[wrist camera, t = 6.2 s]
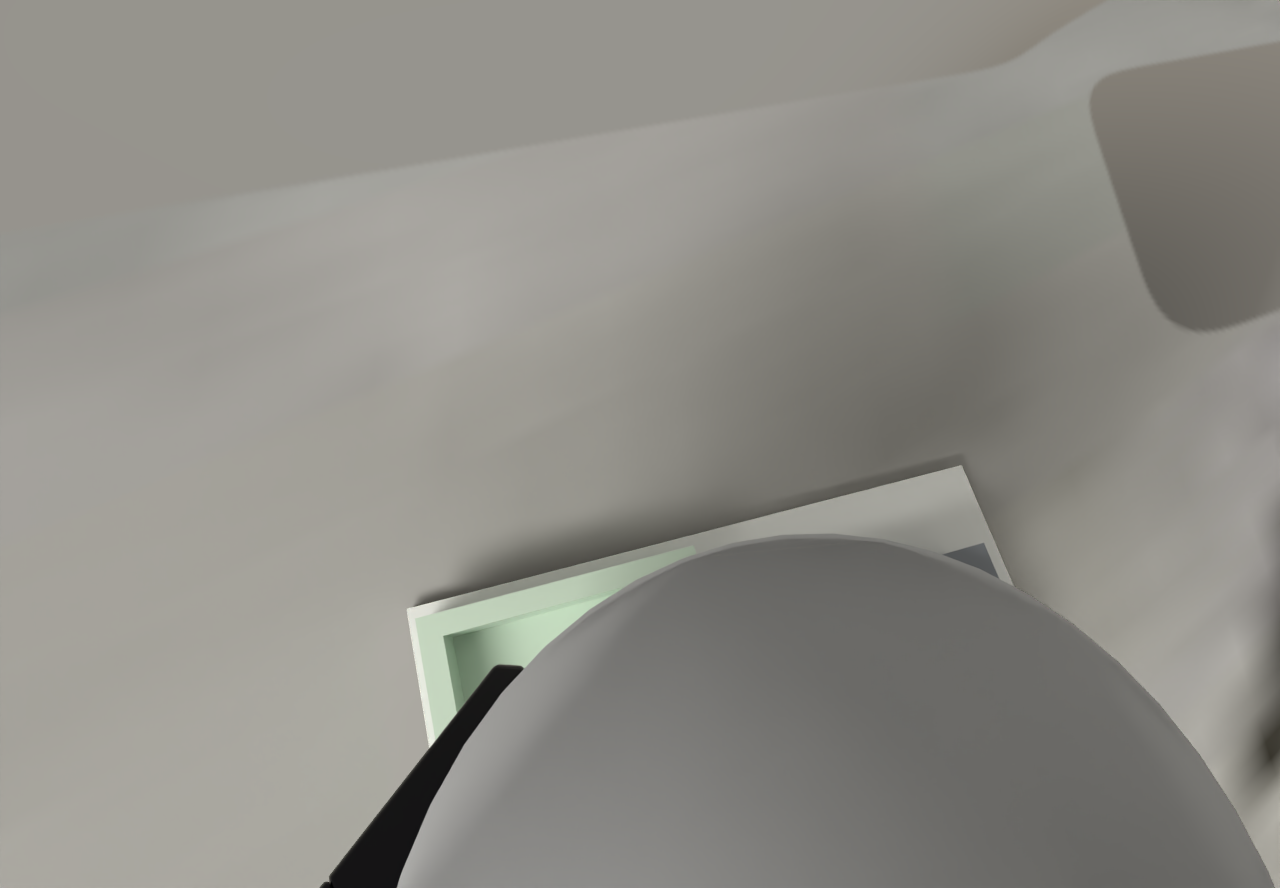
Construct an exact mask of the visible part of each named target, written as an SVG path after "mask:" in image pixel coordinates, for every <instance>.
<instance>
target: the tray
mask: <svg viewBox="0 0 1280 888" xmlns="http://www.w3.org/2000/svg"><path fill="white" fill-rule="evenodd" d="M695 554H696V551H695V548H694V545H693V546H689V547H685V548H682V549H678V550H674V551H670V552H666V553H663V554H659V555H655V556H651V557H647V558H644V559H640V560H636V561H632V562H628V563H624V564H621V565H617V566H613V567H609V568H605V569H602V570H598V571H594V572H590V573H586V574H583V575H579V576H575V577H571V578H567V579H564V580H560V581H556V582H552V583H548V584H545V585H541V586H537V587H533V588H529V589H526V590H522V591H518V592H514V593H510V594H506V595H503V596H499V597H495V598H491V599H487V600H484V601H480V602H476V603H472V604H468V605H465V606H461V607H457V608H453V609H449V610H446V611H442V612H438V613H434V614H430V615H427V616H423V617H419V618H415V622H416V628H417V633H418V639H419V645H420V651H421V657H422V663H423V669H424V675H425V681H426V687H427V693H428V699H429V705H430V711H431V717H432V723H433V729H434V735H435V740H436V739H437V738H438V737H439V735H440V734H441V733H442V731H443V730H444V729H445V728H446V726H447V725H448V724H449V723H450V721H451V720H452V719H453V717H454V716H455V715H456V714H457V712H458V711H459V710H460V709H461V707H462V706H463V705H464V703H465V702H466V701H467V700H468V698H469V697H470V696H471V695H472V693H473V692H474V691H475V689H476V688H477V687H478V686H479V684H480V683H481V682H482V680H483V679H484V678H485V677H486V675H487V674H488V673H489V672H490V670H491V669H492V668H493V667H494V666H496V665H498V664H503V665H520V666H522V667H523V668H525V667H526V666H527V665H528V664H529V663H530V662H531V661H532V660H533V659H534V658H535V657H536V655H537V654H538V653H539V652H540V651H541V650H542V649H543V648H544V647H545V646H546V645H547V644H549V643H550V642H551V641H552V640H553V639H555V638H556V637H557V636H558V635H559V634H561V633H562V632H563V631H564V630H565V629H567V628H568V627H569V626H570V625H571V624H573V623H574V622H575V621H576V620H577V619H579V618H580V617H581V616H582V615H583V614H585V613H586V612H587V611H588V610H589V609H591V608H592V607H594V606H596V605H597V604H599V603H600V602H602V601H603V600H605V599H607V598H608V597H610V596H611V595H613V594H615V593H616V592H618V591H619V590H621V589H622V588H624V587H626V586H627V585H629V584H630V583H632V582H633V581H635V580H637V579H639V578H641V577H643V576H646V575H648V574H650V573H652V572H654V571H656V570H659V569H661V568H663V567H665V566H667V565H669V564H672V563H674V562H676V561H678V560H680V559H682V558H685V557H688V556H691V555H695Z"/></svg>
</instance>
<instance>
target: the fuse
mask: <svg viewBox="0 0 1280 888" xmlns="http://www.w3.org/2000/svg"><path fill="white" fill-rule="evenodd" d="M397 888H1275V887H1274V884H1273V882H1272V880H1271V877H1270V875H1269V872H1268V870H1267V868H1266V866H1265V865H1264V863H1263V861H1262V859H1261V857H1260V855H1259V853H1258V851H1257V849H1256V848H1255V846H1254V844H1253V842H1252V840H1251V838H1250V836H1249V834H1248V832H1247V830H1246V829H1245V827H1244V825H1243V823H1242V821H1241V819H1240V817H1239V815H1238V813H1237V812H1236V810H1235V808H1234V807H1233V805H1232V804H1231V802H1230V801H1229V799H1228V797H1227V796H1226V794H1225V793H1224V791H1223V790H1222V788H1221V787H1220V785H1219V784H1218V782H1217V781H1216V779H1215V778H1214V776H1213V774H1212V773H1211V771H1210V770H1209V768H1208V767H1207V765H1206V764H1205V762H1204V761H1203V759H1202V758H1201V756H1200V755H1199V753H1198V752H1197V751H1196V749H1195V748H1194V747H1193V746H1192V744H1191V743H1190V742H1189V741H1188V739H1187V738H1186V737H1185V736H1184V734H1183V733H1182V732H1181V731H1180V729H1179V728H1178V727H1177V726H1176V724H1175V723H1174V722H1173V721H1172V719H1171V718H1170V717H1169V716H1168V714H1167V713H1166V712H1165V711H1164V709H1163V708H1162V707H1161V706H1160V704H1159V703H1158V702H1157V701H1156V700H1155V699H1154V698H1153V697H1152V696H1151V695H1150V694H1149V693H1148V692H1147V691H1146V690H1145V689H1144V688H1143V687H1142V686H1141V685H1140V684H1139V683H1138V682H1137V681H1136V680H1135V679H1134V678H1133V677H1132V676H1131V675H1130V674H1129V672H1128V671H1127V670H1126V669H1125V668H1124V667H1123V666H1122V665H1121V664H1120V663H1119V662H1118V661H1117V660H1115V659H1114V658H1113V657H1112V656H1111V655H1109V654H1108V653H1107V652H1106V651H1105V650H1103V649H1102V648H1101V647H1100V646H1099V645H1098V644H1096V643H1095V642H1094V641H1093V640H1092V639H1090V638H1089V637H1088V636H1087V635H1086V634H1084V633H1083V632H1082V631H1081V630H1080V629H1078V628H1077V627H1076V626H1075V625H1074V624H1072V623H1071V622H1069V621H1068V620H1066V619H1065V618H1063V617H1062V616H1060V615H1059V614H1057V613H1056V612H1054V611H1053V610H1051V609H1050V608H1048V607H1047V606H1045V605H1044V604H1042V603H1041V602H1039V601H1038V600H1036V599H1035V598H1033V597H1032V596H1030V595H1029V594H1027V593H1025V592H1024V591H1022V590H1020V589H1018V588H1016V587H1014V586H1012V585H1010V584H1008V583H1006V582H1004V581H1002V580H1000V579H998V578H997V577H995V576H993V575H991V574H989V573H987V572H985V571H983V570H981V569H979V568H976V567H973V566H971V565H968V564H965V563H963V562H960V561H958V560H955V559H952V558H950V557H947V556H944V555H942V554H939V553H936V552H934V551H931V550H926V549H922V548H918V547H914V546H910V545H906V544H902V543H897V542H893V541H889V540H885V539H879V538H869V537H860V536H851V535H842V534H793V535H778V536H772V537H766V538H760V539H753V540H747V541H741V542H735V543H731V544H727V545H724V546H721V547H718V548H714V549H711V550H708V551H705V552H701V553H698V554H695V555H691V556H688V557H685V558H682V559H680V560H678V561H676V562H674V563H672V564H669V565H667V566H665V567H663V568H661V569H659V570H656V571H654V572H652V573H650V574H648V575H646V576H643V577H641V578H639V579H637V580H635V581H633V582H632V583H630V584H629V585H627V586H626V587H624V588H622V589H621V590H619V591H618V592H616V593H615V594H613V595H611V596H610V597H608V598H607V599H605V600H603V601H602V602H600V603H599V604H597V605H596V606H594V607H592V608H591V609H589V610H588V611H587V612H586V613H585V614H583V615H582V616H581V617H580V618H579V619H577V620H576V621H575V622H574V623H573V624H571V625H570V626H569V627H568V628H567V629H565V630H564V631H563V632H562V633H561V634H559V635H558V636H557V637H556V638H555V639H553V640H552V641H551V642H550V643H549V644H547V645H546V646H545V647H544V648H543V649H542V650H541V651H540V652H539V653H538V654H537V655H536V657H535V658H534V659H533V660H532V661H531V662H530V663H529V664H528V665H527V666H526V667H525V668H524V669H523V671H522V672H521V673H520V674H519V675H518V676H517V677H516V678H515V679H514V680H513V681H512V682H511V683H510V684H509V686H508V687H507V688H506V689H505V690H504V691H503V692H502V693H501V695H500V696H499V698H498V699H497V700H496V702H495V703H494V704H493V706H492V707H491V709H490V710H489V711H488V713H487V714H486V715H485V717H484V718H483V720H482V721H481V722H480V724H479V725H478V726H477V728H476V729H475V731H474V732H473V733H472V735H471V736H470V737H469V739H468V740H467V742H466V743H465V744H464V746H463V748H462V750H461V751H460V753H459V755H458V757H457V758H456V760H455V762H454V764H453V766H452V767H451V769H450V771H449V773H448V774H447V776H446V778H445V780H444V781H443V783H442V785H441V787H440V789H439V790H438V792H437V794H436V796H435V797H434V799H433V801H432V803H431V805H430V807H429V809H428V811H427V814H426V816H425V819H424V821H423V823H422V826H421V828H420V830H419V833H418V835H417V837H416V840H415V842H414V844H413V847H412V849H411V852H410V854H409V856H408V859H407V861H406V863H405V866H404V868H403V870H402V873H401V876H400V879H399V882H398V886H397Z"/></svg>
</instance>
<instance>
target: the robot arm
mask: <svg viewBox="0 0 1280 888" xmlns="http://www.w3.org/2000/svg"><path fill="white" fill-rule="evenodd" d="M523 669H524V668H523V667H522V666H520V665H503V664H498V665H496V666H494V667H493V668H492V669H491V670H490V672H489V673H488V674H487V675H486V677H485V678H484V679H483V680H482V682H481V683H480V684H479V686H478V687H477V688H476V689H475V691H474V692H473V693H472V695H471V696H470V697H469V698H468V700H467V701H466V702H465V703H464V705H463V706H462V707H461V709H460V710H459V711H458V712H457V714H456V715H455V716H454V717H453V719H452V720H451V721H450V723H449V724H448V725H447V726H446V728H445V729H444V730H443V731H442V733H441V734H440V735H439V737H438V738H437V739H436V740H435V742H434V743H433V744H432V746H431V747H430V748H429V749H428V751H427V752H426V753H425V754H424V756H423V757H422V758H421V760H420V761H419V762H418V763H417V765H416V766H415V767H414V768H413V770H412V771H411V772H410V774H409V775H408V776H407V777H406V779H405V780H404V781H403V783H402V784H401V785H400V786H399V788H398V789H397V790H396V791H395V793H394V794H393V795H392V797H391V798H390V799H389V800H388V802H387V803H386V804H385V805H384V807H383V808H382V809H381V811H380V812H379V813H378V814H377V816H376V817H375V818H374V819H373V821H372V822H371V823H370V825H369V826H368V827H367V828H366V830H365V831H364V832H363V834H362V835H361V836H360V837H359V839H358V840H357V841H356V842H355V844H354V845H353V846H352V848H351V849H350V850H349V851H348V853H347V854H346V855H345V856H344V858H343V859H342V860H341V862H340V863H339V864H338V865H337V867H336V868H335V869H334V871H333V872H332V873H331V874H330V876H329V882H330V883H329V882H324V883H323V884H322V885H321V887H320V888H397V886H398V882H399V879H400V876H401V873H402V870H403V868H404V866H405V863H406V861H407V859H408V856H409V854H410V852H411V849H412V847H413V844H414V842H415V840H416V837H417V835H418V833H419V830H420V828H421V826H422V823H423V821H424V819H425V816H426V814H427V811H428V809H429V807H430V805H431V803H432V801H433V799H434V797H435V796H436V794H437V792H438V790H439V789H440V787H441V785H442V783H443V781H444V780H445V778H446V776H447V774H448V773H449V771H450V769H451V767H452V766H453V764H454V762H455V760H456V758H457V757H458V755H459V753H460V751H461V750H462V748H463V746H464V744H465V743H466V742H467V740H468V739H469V737H470V736H471V735H472V733H473V732H474V731H475V729H476V728H477V726H478V725H479V724H480V722H481V721H482V720H483V718H484V717H485V715H486V714H487V713H488V711H489V710H490V709H491V707H492V706H493V704H494V703H495V702H496V700H497V699H498V698H499V696H500V695H501V693H502V692H503V691H504V690H505V689H506V688H507V687H508V686H509V684H510V683H511V682H512V681H513V680H514V679H515V678H516V677H517V676H518V675H519V674H520V673H521V672H522V671H523Z"/></svg>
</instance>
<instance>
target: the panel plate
mask: <svg viewBox="0 0 1280 888" xmlns="http://www.w3.org/2000/svg"><path fill="white" fill-rule="evenodd" d="M793 534H842V535H851V536H860V537H869V538H879V539H885V540H889V541H893V542H897V543H902V544H906V545H910V546H914V547H918V548H922V549H926V550H931V551H934V552H936V553H939V554H945V553H949V552H952V551H956V550H960V549H963V548H967V547H970V546H974V545H977V544H981V543H984V544H985V546H986V549H987V551H988V554H989V556H990V558H991V561H992V563H993V565H994V568H995V570H996V572H997V575H998V577H999V579H1000V580H1002V581H1004V582H1006V583H1008V584H1010V585H1012V586H1014V585H1013V583H1012V580H1011V578H1010V576H1009V573H1008V571H1007V569H1006V566H1005V564H1004V562H1003V559H1002V557H1001V555H1000V553H999V550H998V548H997V546H996V543H995V541H994V539H993V536H992V534H991V532H990V529H989V527H988V525H987V522H986V520H985V518H984V516H983V513H982V511H981V509H980V506H979V504H978V502H977V499H976V497H975V495H974V492H973V490H972V488H971V485H970V483H969V481H968V479H967V476H966V474H965V472H964V469H963V467H962V465H960V466H956V467H952V468H948V469H944V470H940V471H936V472H933V473H929V474H925V475H921V476H917V477H913V478H909V479H906V480H902V481H898V482H894V483H890V484H886V485H882V486H879V487H875V488H871V489H867V490H863V491H859V492H855V493H852V494H848V495H844V496H840V497H836V498H832V499H828V500H825V501H821V502H817V503H813V504H809V505H805V506H801V507H798V508H794V509H790V510H786V511H782V512H778V513H774V514H771V515H767V516H763V517H759V518H755V519H751V520H747V521H744V522H740V523H736V524H732V525H728V526H724V527H720V528H717V529H713V530H709V531H705V532H701V533H697V534H693V535H690V536H686V537H682V538H678V539H674V540H670V541H666V542H663V543H659V544H655V545H651V546H647V547H643V548H639V549H636V550H632V551H628V552H624V553H620V554H616V555H612V556H609V557H605V558H601V559H597V560H593V561H589V562H585V563H582V564H578V565H574V566H570V567H566V568H562V569H558V570H555V571H551V572H547V573H543V574H539V575H535V576H531V577H528V578H524V579H520V580H516V581H512V582H508V583H504V584H501V585H497V586H493V587H489V588H485V589H481V590H478V591H474V592H470V593H466V594H462V595H458V596H454V597H451V598H447V599H443V600H439V601H435V602H431V603H427V604H424V605H420V606H416V607H412V608H408V609H407V615H408V621H409V627H410V633H411V639H412V645H413V651H414V657H415V664H416V670H417V676H418V682H419V688H420V694H421V700H422V706H423V712H424V718H425V724H426V730H427V736H428V742H429V748H430V747H431V746H432V744H433V743H434V742H435V735H434V729H433V723H432V717H431V711H430V705H429V699H428V693H427V687H426V681H425V675H424V669H423V663H422V657H421V651H420V645H419V639H418V633H417V628H416V622H415V618H419V617H423V616H427V615H430V614H434V613H438V612H442V611H446V610H449V609H453V608H457V607H461V606H465V605H468V604H472V603H476V602H480V601H484V600H487V599H491V598H495V597H499V596H503V595H506V594H510V593H514V592H518V591H522V590H526V589H529V588H533V587H537V586H541V585H545V584H548V583H552V582H556V581H560V580H564V579H567V578H571V577H575V576H579V575H583V574H586V573H590V572H594V571H598V570H602V569H605V568H609V567H613V566H617V565H621V564H624V563H628V562H632V561H636V560H640V559H644V558H647V557H651V556H655V555H659V554H663V553H666V552H670V551H674V550H678V549H682V548H685V547H689V546H693V545H694V548H695V551H696V554H698V553H701V552H705V551H708V550H711V549H714V548H718V547H721V546H724V545H727V544H731V543H735V542H741V541H747V540H753V539H760V538H766V537H772V536H778V535H793Z"/></svg>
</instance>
